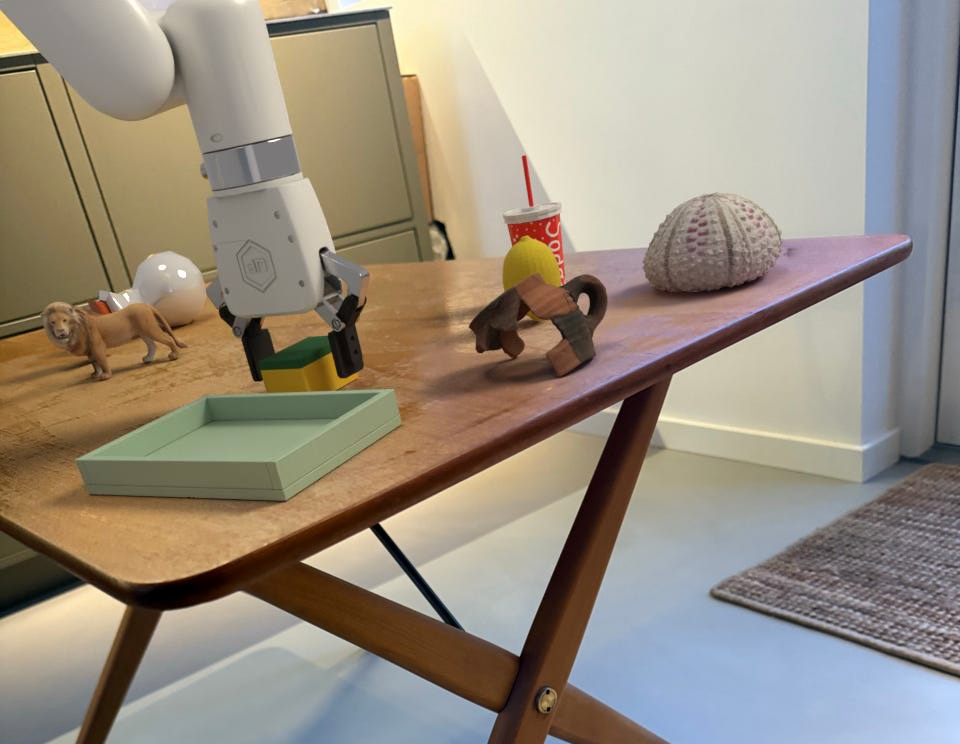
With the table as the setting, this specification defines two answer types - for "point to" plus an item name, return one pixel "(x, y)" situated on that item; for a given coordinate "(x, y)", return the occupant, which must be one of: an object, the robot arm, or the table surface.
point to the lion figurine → (106, 332)
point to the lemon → (530, 265)
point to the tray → (242, 445)
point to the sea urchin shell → (712, 244)
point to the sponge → (303, 368)
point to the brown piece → (544, 318)
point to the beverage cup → (537, 223)
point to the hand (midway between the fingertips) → (308, 375)
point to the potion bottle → (161, 289)
